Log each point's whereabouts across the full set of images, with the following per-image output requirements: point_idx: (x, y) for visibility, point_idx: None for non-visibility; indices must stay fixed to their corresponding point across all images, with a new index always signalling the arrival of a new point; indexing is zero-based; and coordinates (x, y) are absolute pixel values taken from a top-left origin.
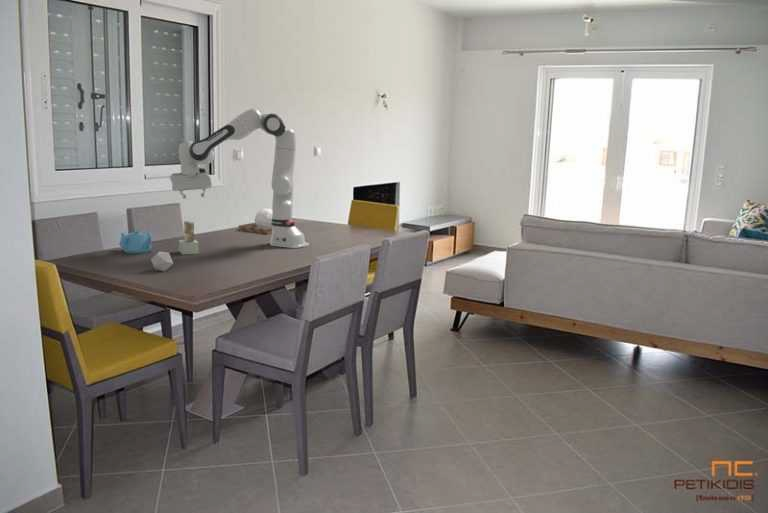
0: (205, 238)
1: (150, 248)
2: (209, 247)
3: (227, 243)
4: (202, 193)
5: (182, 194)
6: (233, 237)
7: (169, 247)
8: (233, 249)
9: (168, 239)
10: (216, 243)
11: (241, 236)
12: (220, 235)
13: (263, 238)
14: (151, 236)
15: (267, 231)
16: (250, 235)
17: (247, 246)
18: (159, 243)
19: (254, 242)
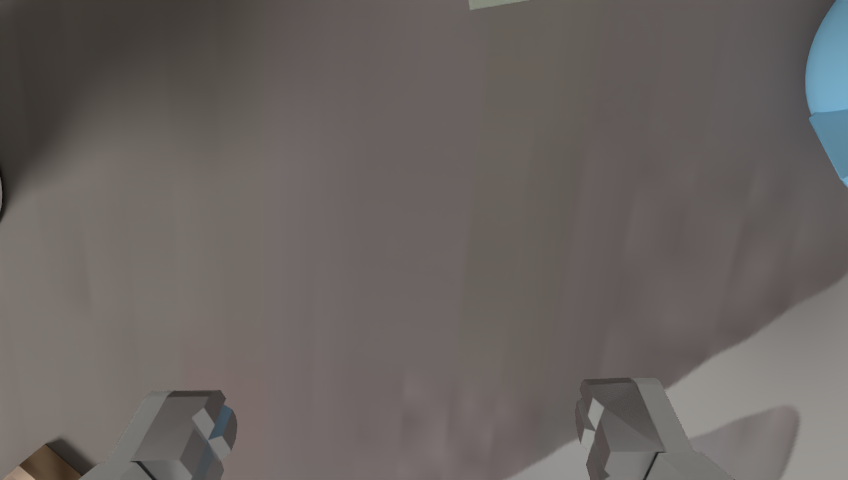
0: (372, 413)
1: (827, 14)
2: (364, 120)
3: (249, 238)
4: (149, 457)
5: (709, 464)
6: None
7: (631, 168)
8: (207, 13)
9: None
10: (315, 251)
11: None
12: (288, 474)
13: (57, 347)
14: (833, 158)
15: (35, 461)
16: None
17: (124, 113)
18: (668, 320)
19: (94, 240)
